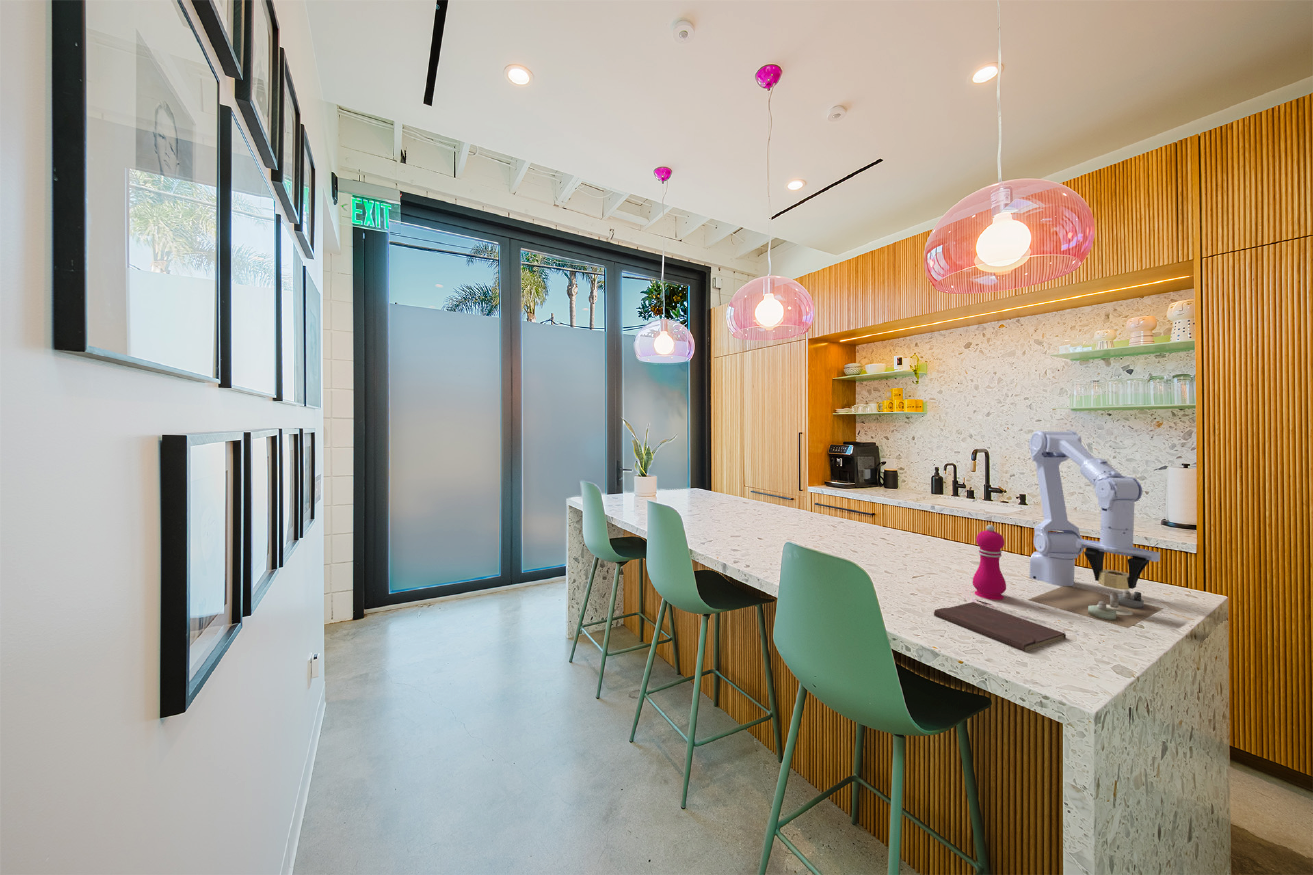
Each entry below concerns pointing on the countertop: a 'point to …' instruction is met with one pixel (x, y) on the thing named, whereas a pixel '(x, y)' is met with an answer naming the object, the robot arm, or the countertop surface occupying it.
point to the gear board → (1099, 605)
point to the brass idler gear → (1114, 579)
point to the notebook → (1000, 626)
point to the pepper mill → (989, 566)
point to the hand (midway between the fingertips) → (1115, 583)
